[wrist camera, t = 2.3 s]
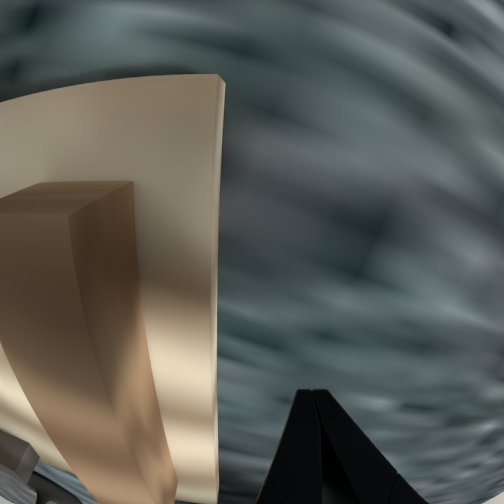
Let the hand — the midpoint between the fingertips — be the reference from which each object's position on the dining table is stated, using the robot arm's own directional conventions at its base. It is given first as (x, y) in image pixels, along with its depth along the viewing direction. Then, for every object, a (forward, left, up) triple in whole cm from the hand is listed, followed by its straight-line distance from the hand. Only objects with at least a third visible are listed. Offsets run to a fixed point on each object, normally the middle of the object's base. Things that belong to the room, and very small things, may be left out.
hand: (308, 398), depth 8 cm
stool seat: (-4, +15, -5) cm, 16 cm away
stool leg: (-3, +7, -3) cm, 8 cm away
